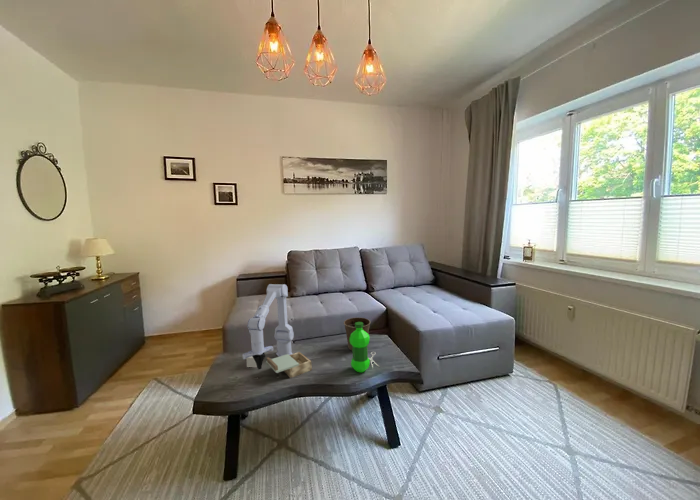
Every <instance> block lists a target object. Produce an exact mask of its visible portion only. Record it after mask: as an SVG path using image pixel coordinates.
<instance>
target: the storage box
mask: <svg viewBox="0 0 700 500" xmlns="http://www.w3.org/2000/svg"><path fill="white" fill-rule="evenodd" d="M290 356H291V357H292V358H293V359H294V360H295V361H296V362H298V363H299V365H298V366H296V367H293V368H290V369H287V370H284V371H283V372H284V373H285V374H286V375H287V376H288V377H289V378H290V379H292V378H295V377H297V376H300V375H303V374H306V373H308V372H311V371H312V370H313V369H312V368H313V367H312V364H313V363H312V360H310V358H308V357H306V356H305V355H304V354H303V353H302V352H300V351H297V352H295V353H293V354H291V355H290Z"/></svg>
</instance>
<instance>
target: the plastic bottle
mask: <svg viewBox="0 0 700 500" xmlns="http://www.w3.org/2000/svg"><path fill="white" fill-rule="evenodd" d="M355 327H356V330H355V331H354V332H353V333H351V336H350V339H349V340H350V344H351V345H352V350H351V351H352V353H351V354H352V358H351V361H350V366H351V368H352V369H353V370H354V371H355V372H357V373H364V372H366V370H368V369H369V368H370V364H371V361H370V360H369V358H370V357H369V356H368V355H369V354H368V352H369V351H368V348H367V345H368V346H369V344H370V335H369V334H368V333H366V332H365V331H364V330H362V327H363V323H362V322H356V323H355Z"/></svg>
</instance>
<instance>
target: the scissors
mask: <svg viewBox="0 0 700 500" xmlns="http://www.w3.org/2000/svg"><path fill="white" fill-rule="evenodd" d="M376 353H377V352H376V351H371V352H370V355H372V356H371V357H368V358H369V360H370V364H371V365H370V366H371V368H372V369H374V365H376V366H377V367H379V364H377V362H375V360H374V359H373V358H374V356H375V355H376ZM372 362H374V363H373V364H372Z"/></svg>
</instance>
